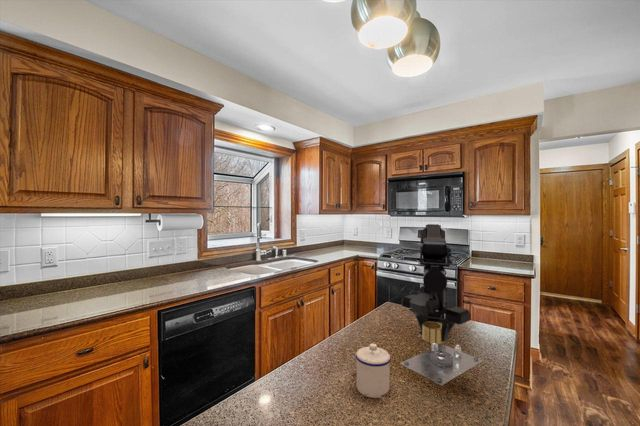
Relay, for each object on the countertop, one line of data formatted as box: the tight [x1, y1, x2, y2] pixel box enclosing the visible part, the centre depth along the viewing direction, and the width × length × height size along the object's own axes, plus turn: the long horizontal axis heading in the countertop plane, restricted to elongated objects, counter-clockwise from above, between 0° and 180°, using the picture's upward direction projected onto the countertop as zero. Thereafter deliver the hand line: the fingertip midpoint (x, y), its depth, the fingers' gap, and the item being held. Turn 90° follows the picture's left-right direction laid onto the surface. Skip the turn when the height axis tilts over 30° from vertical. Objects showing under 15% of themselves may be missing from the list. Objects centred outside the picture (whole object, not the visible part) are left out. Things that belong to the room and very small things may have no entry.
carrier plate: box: [399, 343, 484, 386], centre depth 90 cm, size 14×23×4 cm, turn 126°
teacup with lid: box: [354, 343, 391, 399], centre depth 79 cm, size 12×9×12 cm
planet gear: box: [421, 321, 445, 345], centre depth 84 cm, size 6×6×4 cm
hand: (433, 337), depth 84 cm, fingers closed on planet gear, 6 cm apart
